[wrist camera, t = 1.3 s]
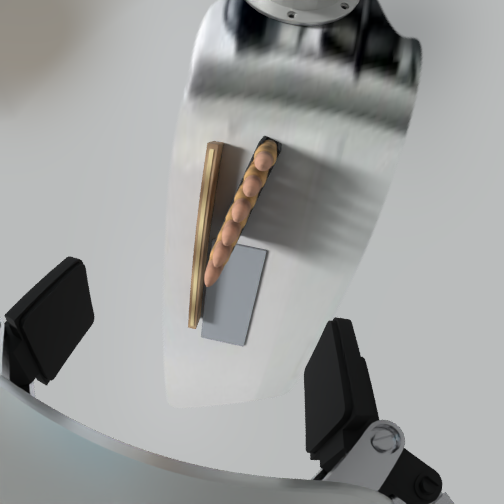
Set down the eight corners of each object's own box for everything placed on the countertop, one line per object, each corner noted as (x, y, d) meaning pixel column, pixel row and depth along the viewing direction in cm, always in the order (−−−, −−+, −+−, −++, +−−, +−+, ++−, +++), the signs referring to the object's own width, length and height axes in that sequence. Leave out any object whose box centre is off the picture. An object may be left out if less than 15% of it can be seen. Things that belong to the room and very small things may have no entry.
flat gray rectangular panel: (212, 238, 30) (212, 240, 30) (266, 250, 30) (266, 251, 30) (201, 335, 37) (201, 337, 37) (243, 344, 37) (243, 346, 37)
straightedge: (213, 141, 26) (207, 143, 23) (223, 142, 26) (218, 144, 23) (193, 314, 36) (188, 327, 33) (200, 316, 36) (195, 329, 33)
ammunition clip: (238, 234, 30) (215, 301, 19) (222, 227, 30) (190, 290, 19) (281, 143, 25) (284, 158, 15) (264, 135, 25) (253, 144, 14)
